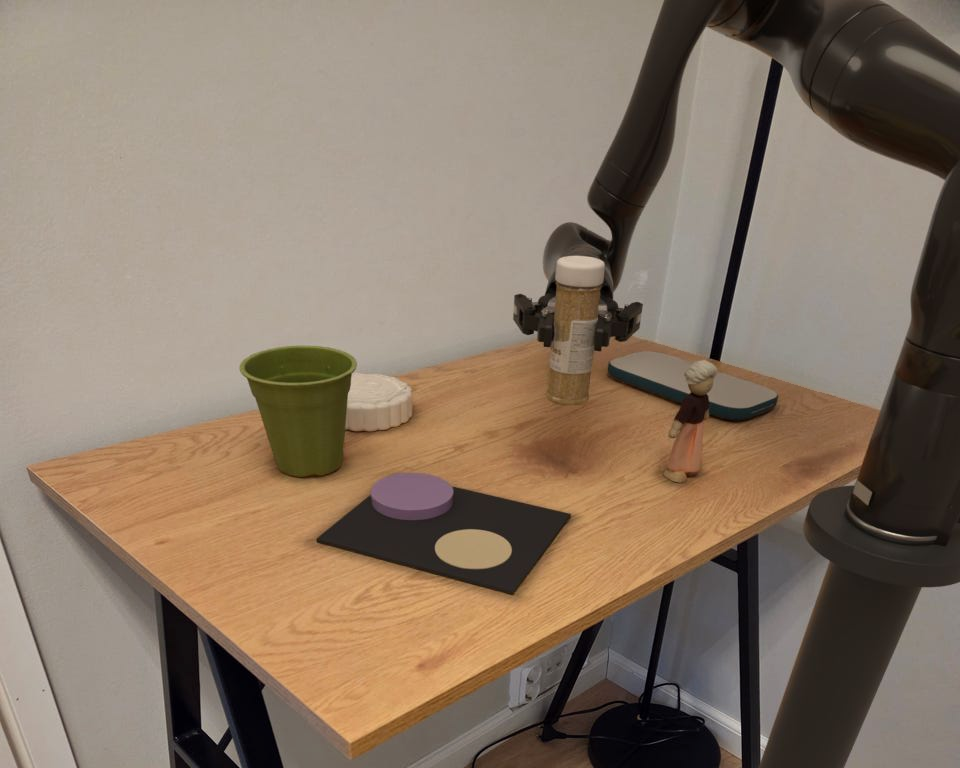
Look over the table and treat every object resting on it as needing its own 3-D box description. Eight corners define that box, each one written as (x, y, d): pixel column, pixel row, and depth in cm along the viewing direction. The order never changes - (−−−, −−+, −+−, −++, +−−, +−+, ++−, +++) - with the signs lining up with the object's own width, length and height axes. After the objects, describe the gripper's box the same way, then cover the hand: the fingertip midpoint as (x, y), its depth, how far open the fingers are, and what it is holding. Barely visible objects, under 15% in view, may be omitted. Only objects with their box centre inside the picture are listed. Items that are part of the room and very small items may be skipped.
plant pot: (272, 439, 95) (260, 341, 89) (372, 447, 95) (367, 349, 88) (238, 484, 86) (221, 378, 79) (348, 493, 85) (341, 387, 79)
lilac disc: (466, 493, 85) (466, 482, 85) (431, 528, 79) (431, 517, 79) (395, 476, 88) (395, 466, 87) (355, 509, 82) (355, 498, 81)
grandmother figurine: (688, 489, 89) (712, 374, 81) (654, 481, 90) (675, 366, 83) (708, 465, 94) (733, 354, 87) (676, 457, 96) (698, 347, 88)
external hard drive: (597, 376, 118) (599, 362, 117) (648, 361, 124) (650, 347, 123) (735, 427, 104) (739, 412, 103) (784, 408, 110) (788, 393, 109)
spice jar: (539, 393, 86) (550, 254, 78) (580, 390, 87) (594, 253, 79) (554, 409, 82) (566, 266, 74) (596, 406, 83) (613, 264, 75)
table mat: (570, 517, 83) (571, 512, 83) (512, 595, 71) (513, 590, 71) (396, 476, 89) (396, 472, 89) (316, 542, 77) (316, 537, 77)
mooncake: (362, 441, 96) (360, 411, 94) (296, 413, 102) (294, 384, 100) (432, 414, 104) (432, 386, 101) (367, 390, 110) (366, 363, 108)
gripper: (518, 253, 90) (501, 292, 76) (648, 261, 89) (654, 302, 75) (514, 323, 95) (497, 372, 81) (638, 332, 93) (642, 383, 80)
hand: (573, 338), depth 78 cm, fingers closed on spice jar, 4 cm apart
